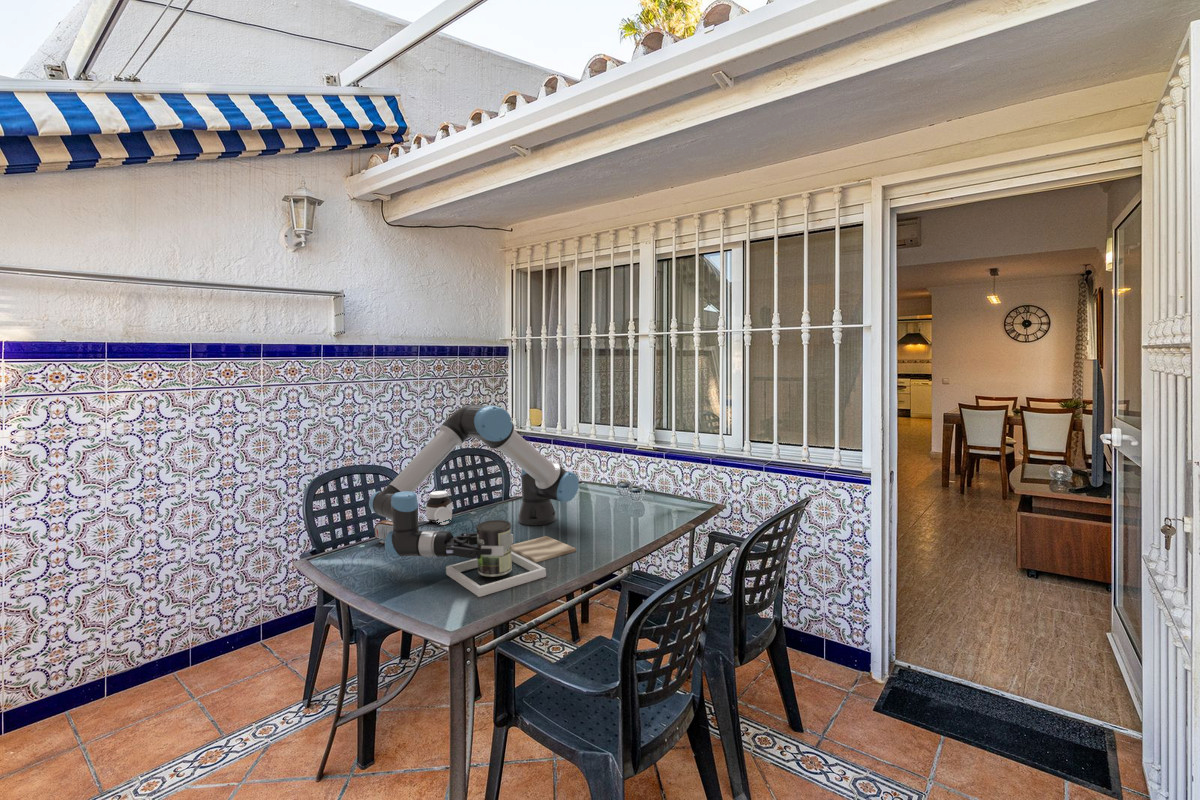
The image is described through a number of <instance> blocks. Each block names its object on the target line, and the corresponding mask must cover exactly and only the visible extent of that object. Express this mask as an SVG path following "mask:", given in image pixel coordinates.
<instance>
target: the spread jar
mask: <svg viewBox="0 0 1200 800" xmlns="http://www.w3.org/2000/svg"><path fill="white" fill-rule="evenodd" d="M425 506H426V507H425V511H426V512H425V513H426V519H427V520H428V521H429V522H431V521H435V520H437V519H439V520H438V521H435V522H431V523H432V524H438V523H439V522H442V523H440V524H439V525H441V526H445V525H447V524H449V523H450V522H449V521H446V522H443V521H445V520H448V519H450V520H451V521H452V518H453V504H452V500H451V498H450V497H449V496H448V491H446V490H436V491H432V492H430V493H429V499H428V500H427V502H426V505H425ZM437 522H438V523H437Z"/></svg>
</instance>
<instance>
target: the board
mask: <svg viewBox="0 0 1200 800" xmlns="http://www.w3.org/2000/svg"><path fill="white" fill-rule="evenodd" d="M511 551H512V552H514V553H516V554H518V555H520V556H522V557H524V558H526V559H528V560H530V561H532V562H534V563H539V562H543V561H546V560H550V559H553V558H557V557H560V556H564V555H567V554H571V553H575V552H577V548H576V547H574V546H571V545H570V544H567V543H564V542H562V541H559V540H557V539H556V538H555V539H554V538H552V537H550V536H548V535H545V536H541V537H537V538H532V539H529V540H525V541H521V542H518V543H517V542H516V543H513V544H511Z"/></svg>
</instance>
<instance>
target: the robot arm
mask: <svg viewBox="0 0 1200 800" xmlns="http://www.w3.org/2000/svg"><path fill="white" fill-rule="evenodd" d="M471 438H472V439H473V438H474V439H477V440H480V441H481V442H482V443H484V444H485V445H486V446H487V447H489V448H490V449H491V450H492V449H493V450H497V449H498V450H499V451H500V452H502V454H504V455H505V456H506V457H507V458H509V459H510V460H511V461H513V463H515V464H516V466H518V467H519V468H521V472H520V473H521V474H520V478H521V479H520V481H521V505H520V509H519V513H518V515H517V516H518V520H517V521H518V523H519V524H521V525H525V526H544V525H548V524H552V523H554V522H555V521H556V520H557V514H556V511H555V508H554V505H553V503H552V500H554V501H557V502H560V503H562V502H564V503H569V502H570V501H572V500H573V499H574V498H575V497H576V495H577V494H578V491H579V487H580V486H579V483H580V481H579V477H578V475H577V474H576V473H574V472H572V471H570V470H566V469H565V468H563V467H562V465H560V464H559V463H558V462H556V461H551V462H550V461H549V459H547V458H546V457H545V456H544V455H543V454H542V453H541V452H539V451H538V450H537V449H536V448H535V447H534V446H533V445H531V444H530V442H528V441H527V440H526V439H525V438H523V436H521V435H520V434H519V433H518V432H517V431H516V430H515V424H514V423H513V421H512V416H511V415H510V413H509V412H508V411H507V410H506V409H505V408H503V407H501V406H497V405H491V404H489V405H483V404H467V405H464V406H462V407H460V408H459V409H458V410H456V411H455V412H454V413H452V414H451V415H450V416H449V417H448V418H447V419H445V421H444V422H443V423H442V424H441V425H440V427H439V432H438V433H436V435H435V436H434V437H433V438H432V439H431V440H430V441H429V442H428V443H427V444H426V445H425V446H424V447H423V448H422V450H421V451H420V452H418V454H416V455H415V457H414V458H413V459H411V461H410V462H409V463H408V464H407V466H405V468H403V470H401V472H400V473H399V474H397V476H396V477H395V478H394V479H393V480H392V481H391V482H390V483H389V484H388V485H387V486H386V487H385V488H384V489H383V490H377V491H376V492H374V493H373V494H372V495H371V496H370V497H369V500H368V507H369V509H370V510H371V512H372V513H374V514H375V515H376V516H379V517H383V518H386V519H388V520H389V521H393V531H390V532H389V533H388V534H387V536H386V542H385V544H384V548H385V552H386V553H387V554H388V555H390V556H396V557H397V556H398V557H427V558H429V559H430V558H431V557H445V558H447V557H459V558H467V559H476V558H477V559H480V558H481V556H503V555H504V549H503V546H481V549H480V547H478V546H477V532H469V533H468V532H466V533H465V532H462V533H460V535H457V536H453V534H452V532H451V531H448V530H446V531H445V530H444V531H443V530H439V531H438V530H423V531H422V530H420V528H419V527H420V525H419V502H418V495H417V493H416V492H415V491H416V490H417V489H418V488H419V487H420V486H421V485H422V484H423V482H424V481H425V480H426V479H427V478H428V477H429V476H430V475H431V473H433V472H434V471H435V469H436V468H437V467H438V466H439V465H440V464H441V463H442V462H443V461H444V460H445V459H446V458H447V456H448V455H449V454H450V453H451V452H452V451H453V450H454V449H455V448H456V447H458V446H462V444H463V443H464V442H465V441H467V440H468V439H471ZM513 544H514V534H513V533H511V545H513Z"/></svg>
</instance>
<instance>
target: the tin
mask: <svg viewBox="0 0 1200 800" xmlns="http://www.w3.org/2000/svg"><path fill="white" fill-rule="evenodd" d="M373 529H374V530H373V531H374V537H375V539H376V538H379V539H383V540H386V536H387V534H388V533H389V532H390V531H393V521H392V520H390V519H388V520H387V519H383V520H381V521H379V522H377V523H376V524H375V525H374V528H373ZM378 542H379V543H380V544H381V545H385V542H384V541H378Z"/></svg>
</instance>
